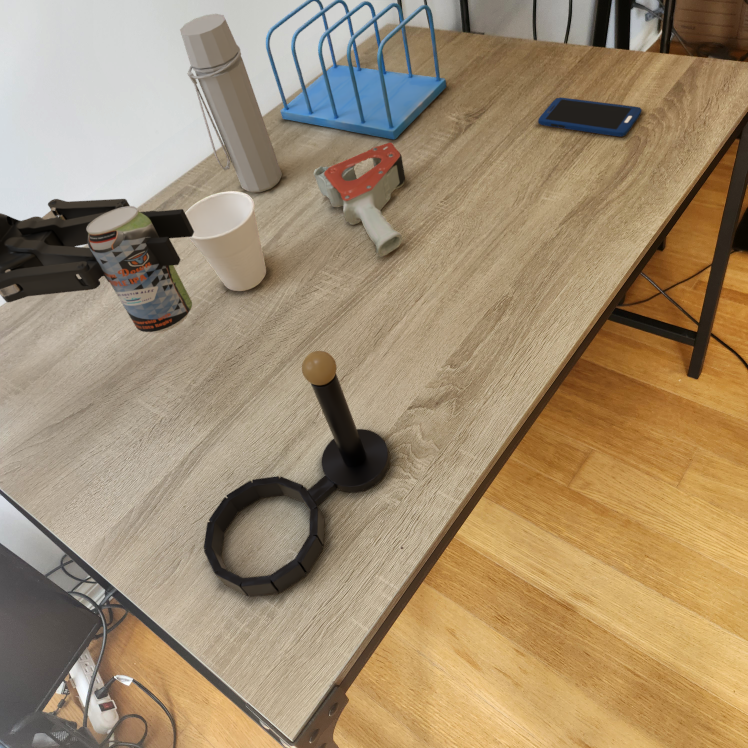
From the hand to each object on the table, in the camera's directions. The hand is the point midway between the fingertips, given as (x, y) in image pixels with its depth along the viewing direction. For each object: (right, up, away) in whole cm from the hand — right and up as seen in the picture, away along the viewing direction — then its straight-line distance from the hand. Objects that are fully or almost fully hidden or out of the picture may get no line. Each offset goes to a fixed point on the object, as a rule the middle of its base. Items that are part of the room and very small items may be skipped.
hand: (180, 236), depth 61 cm
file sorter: (+16, +35, +56) cm, 68 cm away
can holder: (+11, -26, +4) cm, 29 cm away
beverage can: (-2, -7, +6) cm, 9 cm away
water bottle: (-1, +18, +45) cm, 49 cm away
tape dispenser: (+17, +11, +35) cm, 40 cm away
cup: (0, 0, +30) cm, 30 cm away
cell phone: (+52, +26, +39) cm, 70 cm away
